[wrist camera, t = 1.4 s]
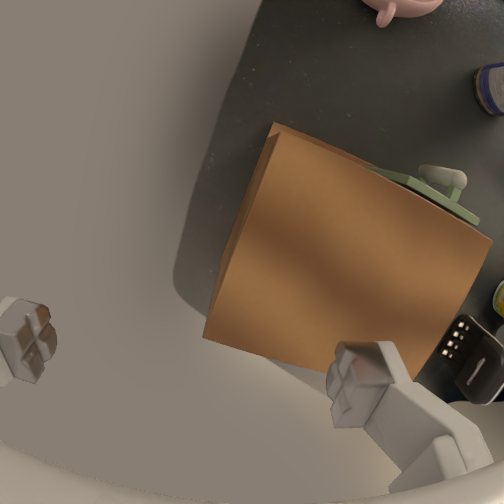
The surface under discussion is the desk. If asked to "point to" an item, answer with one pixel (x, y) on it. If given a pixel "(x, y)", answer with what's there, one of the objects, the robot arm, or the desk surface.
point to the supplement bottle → (499, 299)
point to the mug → (401, 9)
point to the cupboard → (337, 260)
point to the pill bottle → (490, 88)
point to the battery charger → (474, 360)
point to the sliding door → (438, 176)
